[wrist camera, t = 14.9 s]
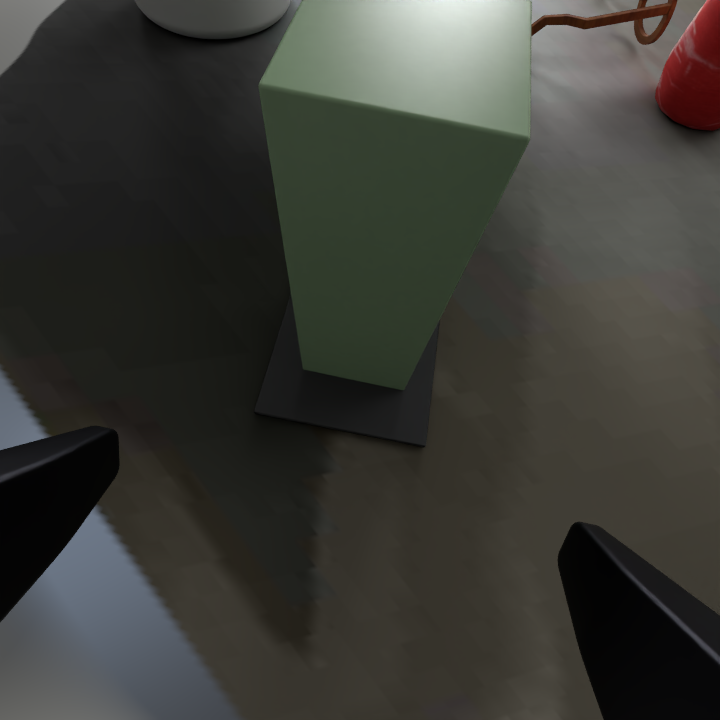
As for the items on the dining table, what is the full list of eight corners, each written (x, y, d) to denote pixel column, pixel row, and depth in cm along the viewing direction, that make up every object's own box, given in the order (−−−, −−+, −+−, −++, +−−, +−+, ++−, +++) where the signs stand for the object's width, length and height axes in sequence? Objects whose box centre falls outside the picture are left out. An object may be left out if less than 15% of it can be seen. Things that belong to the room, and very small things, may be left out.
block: (403, 391, 19) (532, 138, 7) (302, 369, 19) (256, 84, 7) (417, 305, 21) (532, -1, 9) (326, 286, 21) (321, -42, 9)
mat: (424, 447, 18) (425, 446, 18) (254, 413, 18) (253, 411, 18) (462, 104, 29) (464, 100, 29) (357, 84, 29) (357, 79, 29)
